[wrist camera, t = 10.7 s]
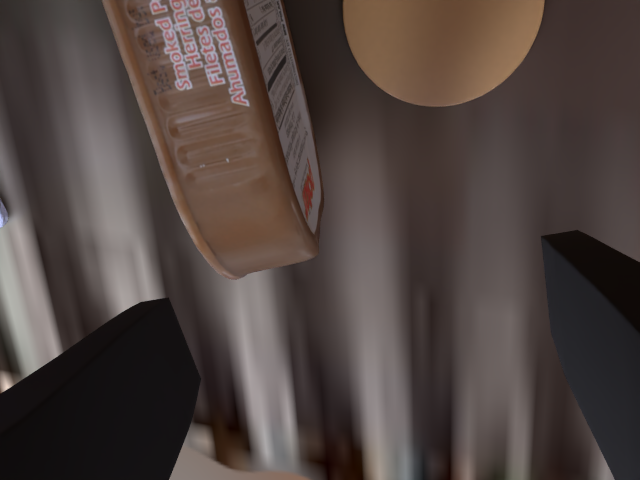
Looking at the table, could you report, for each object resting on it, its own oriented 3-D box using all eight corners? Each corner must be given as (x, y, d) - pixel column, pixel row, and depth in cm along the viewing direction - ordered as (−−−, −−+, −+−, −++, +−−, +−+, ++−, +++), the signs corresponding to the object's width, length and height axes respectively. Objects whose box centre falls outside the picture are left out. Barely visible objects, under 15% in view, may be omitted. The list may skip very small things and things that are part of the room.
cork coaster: (365, 121, 21) (364, 124, 20) (323, -74, 18) (322, -74, 18) (550, 82, 19) (553, 84, 19) (532, -132, 17) (535, -134, 17)
